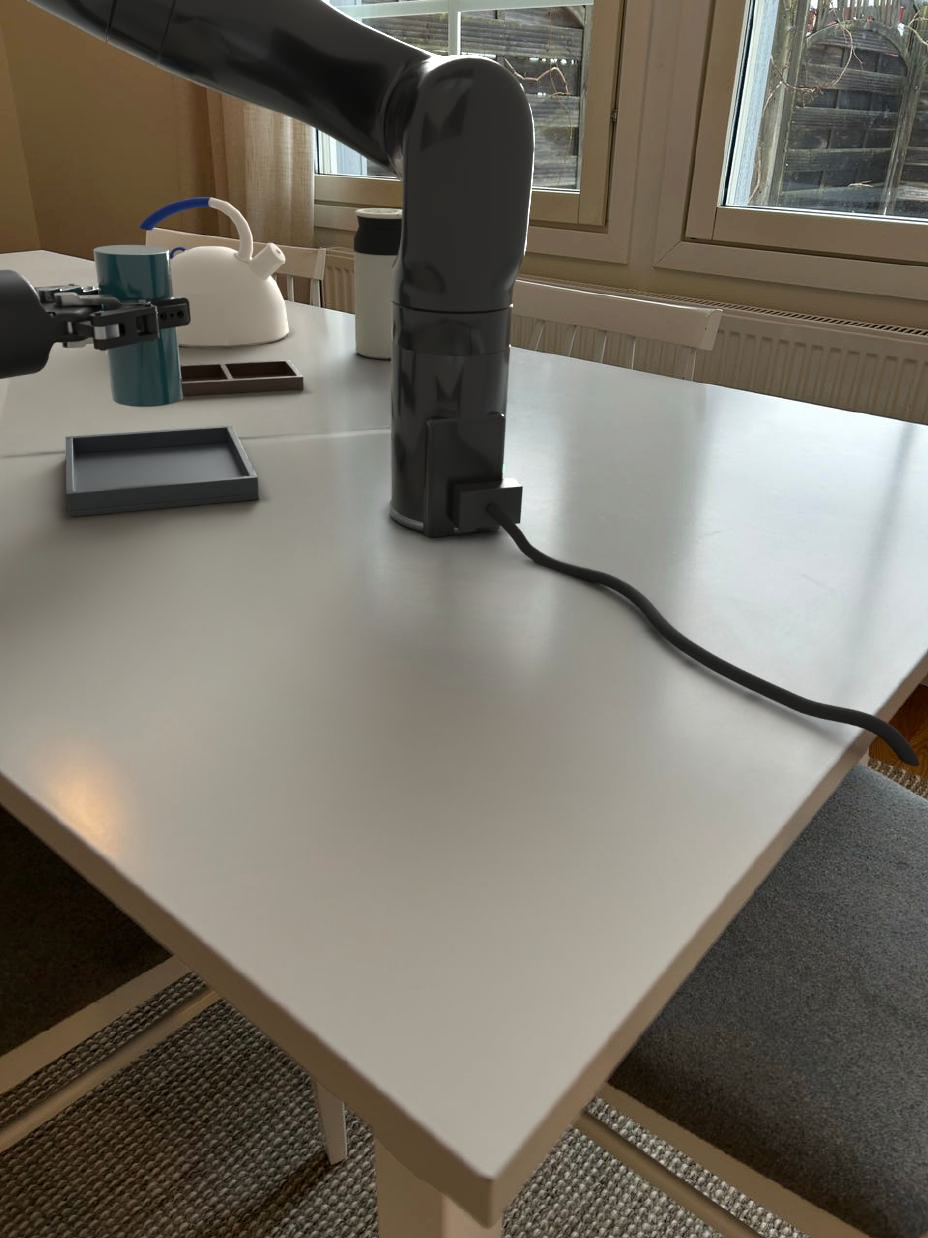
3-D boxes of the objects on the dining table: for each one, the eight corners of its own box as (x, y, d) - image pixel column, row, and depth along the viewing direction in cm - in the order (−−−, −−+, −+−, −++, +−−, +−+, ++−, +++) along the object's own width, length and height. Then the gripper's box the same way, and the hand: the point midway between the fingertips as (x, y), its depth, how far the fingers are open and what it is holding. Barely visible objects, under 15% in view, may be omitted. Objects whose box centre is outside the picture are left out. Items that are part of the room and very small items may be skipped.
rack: (303, 392, 111) (303, 376, 110) (158, 401, 106) (156, 384, 105) (289, 374, 118) (289, 359, 117) (152, 382, 113) (150, 366, 112)
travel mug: (346, 356, 128) (342, 211, 119) (369, 344, 135) (368, 206, 126) (400, 362, 126) (401, 215, 117) (422, 350, 132) (424, 210, 124)
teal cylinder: (186, 405, 80) (172, 254, 75) (114, 408, 78) (94, 254, 73) (179, 387, 85) (166, 244, 79) (111, 390, 83) (92, 244, 78)
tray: (259, 499, 81) (257, 477, 81) (69, 517, 77) (65, 493, 76) (233, 444, 94) (231, 424, 93) (69, 457, 89) (65, 436, 88)
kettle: (264, 353, 128) (255, 207, 119) (119, 342, 130) (100, 198, 122) (309, 323, 145) (304, 195, 137) (180, 314, 148) (167, 187, 139)
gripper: (4, 289, 63) (213, 268, 74) (-93, 261, 71) (110, 246, 82) (24, 401, 66) (221, 364, 78) (-71, 363, 74) (121, 335, 86)
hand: (163, 304), depth 80 cm, fingers closed on teal cylinder, 6 cm apart
